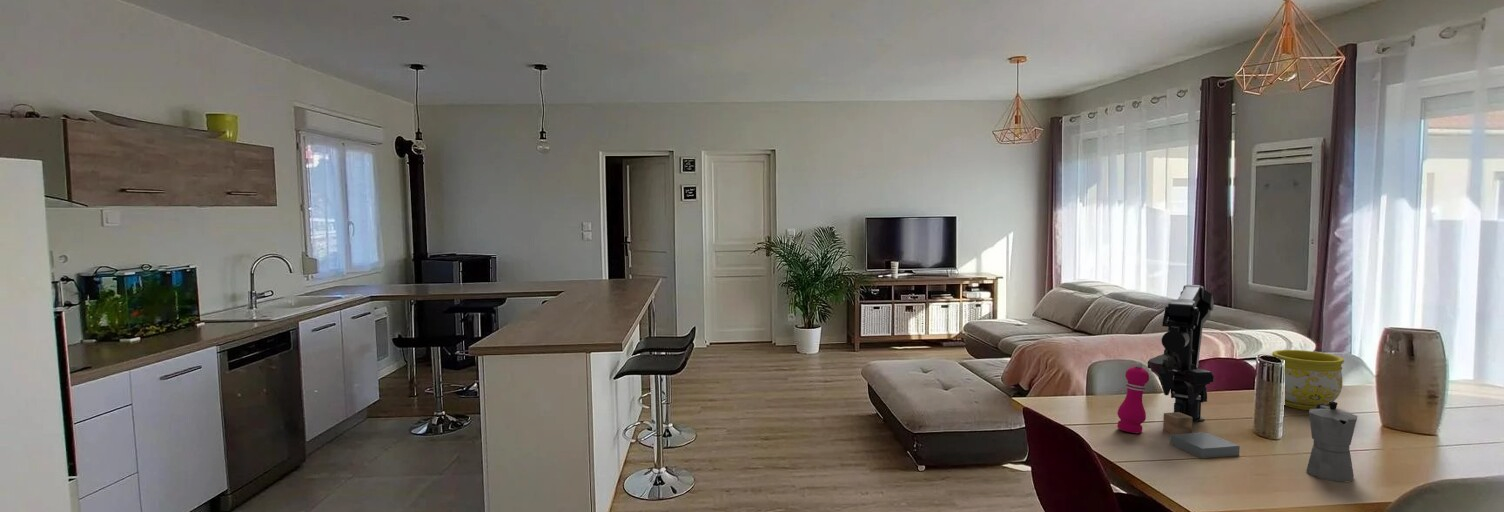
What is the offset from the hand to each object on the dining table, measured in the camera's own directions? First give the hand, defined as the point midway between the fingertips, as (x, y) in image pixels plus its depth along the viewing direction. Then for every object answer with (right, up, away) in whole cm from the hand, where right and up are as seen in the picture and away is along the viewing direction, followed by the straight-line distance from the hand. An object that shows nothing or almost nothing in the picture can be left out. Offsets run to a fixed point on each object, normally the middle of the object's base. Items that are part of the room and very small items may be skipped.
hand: (1178, 399), depth 200 cm
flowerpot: (+56, -7, +25) cm, 62 cm away
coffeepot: (+17, -12, -31) cm, 37 cm away
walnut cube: (0, -10, +1) cm, 10 cm away
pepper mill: (-13, -9, +2) cm, 16 cm away
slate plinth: (-2, -11, -14) cm, 17 cm away
